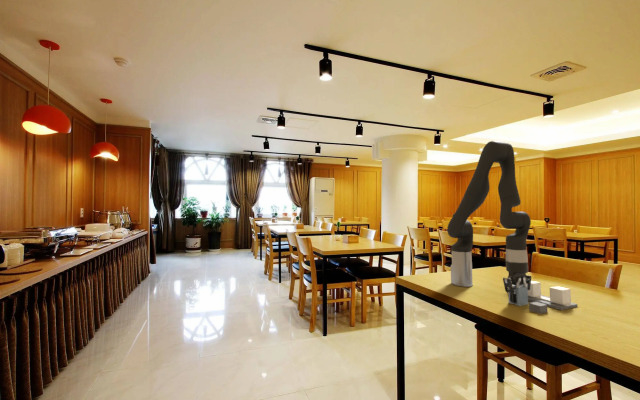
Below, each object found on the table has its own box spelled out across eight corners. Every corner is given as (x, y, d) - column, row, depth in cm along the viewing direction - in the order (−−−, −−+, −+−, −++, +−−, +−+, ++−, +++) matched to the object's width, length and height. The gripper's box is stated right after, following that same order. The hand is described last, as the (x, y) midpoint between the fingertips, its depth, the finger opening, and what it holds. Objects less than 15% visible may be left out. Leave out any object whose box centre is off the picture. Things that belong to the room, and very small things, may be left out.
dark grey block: (529, 310, 110) (528, 302, 110) (536, 309, 111) (536, 301, 111) (540, 314, 106) (540, 306, 106) (547, 312, 107) (547, 304, 108)
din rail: (516, 297, 125) (516, 281, 126) (532, 294, 129) (531, 279, 129) (561, 310, 109) (560, 291, 110) (577, 306, 113) (576, 288, 113)
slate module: (508, 302, 119) (508, 285, 119) (517, 301, 121) (516, 284, 121) (519, 306, 115) (518, 288, 115) (528, 304, 117) (527, 287, 117)
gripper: (519, 257, 124) (521, 297, 124) (495, 260, 119) (497, 301, 119) (537, 260, 117) (539, 302, 117) (513, 263, 112) (515, 307, 112)
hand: (518, 301), depth 118 cm, fingers closed on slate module, 5 cm apart
